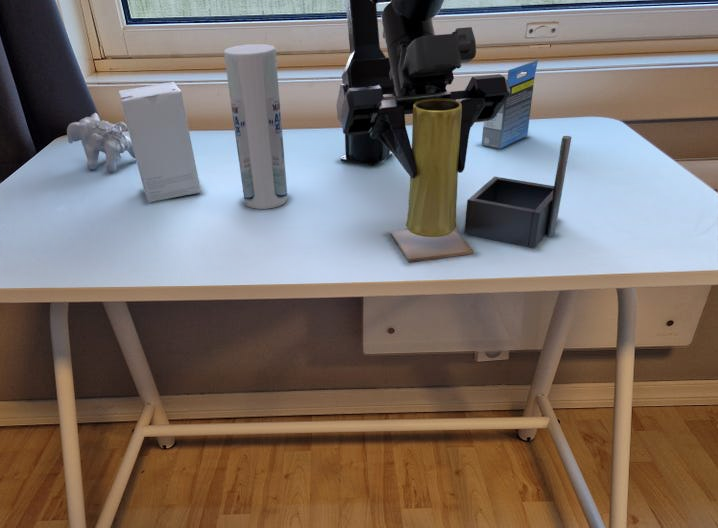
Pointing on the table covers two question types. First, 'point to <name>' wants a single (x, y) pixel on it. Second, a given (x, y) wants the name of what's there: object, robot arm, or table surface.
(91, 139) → the elephant statuette
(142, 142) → the cosmetic box
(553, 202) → the holder
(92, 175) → the table surface
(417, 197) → the vase
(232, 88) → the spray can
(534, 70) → the tape cartridge
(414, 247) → the cork pad
